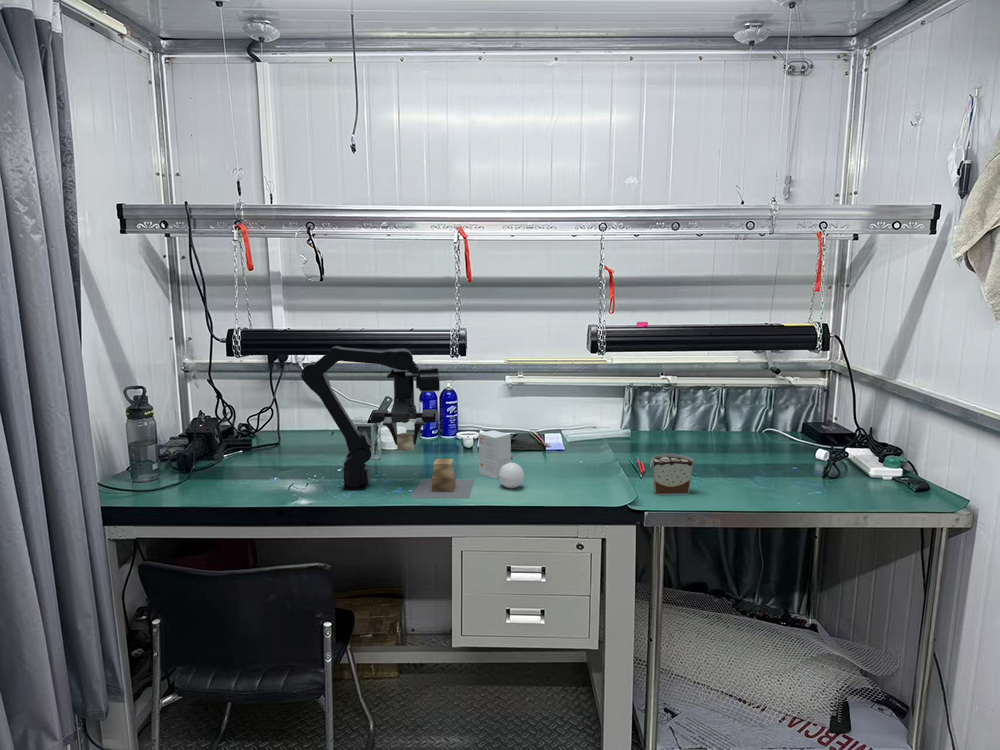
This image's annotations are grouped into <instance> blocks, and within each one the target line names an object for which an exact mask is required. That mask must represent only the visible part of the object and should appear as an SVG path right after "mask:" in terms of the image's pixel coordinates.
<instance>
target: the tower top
mask: <svg viewBox="0 0 1000 750" xmlns="http://www.w3.org/2000/svg"><path fill="white" fill-rule="evenodd" d="M432 465H433V466H432V467H433V474H434V478H451V477H452V475H453V472H454V459H453V458H435V460H434V462H433V464H432Z"/></svg>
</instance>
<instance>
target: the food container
mask: <svg viewBox="0 0 1000 750" xmlns="http://www.w3.org/2000/svg"><path fill="white" fill-rule="evenodd" d="M649 466H650V468H652V473H653V475H652V477H653V487H654V495H655V496H657V495H659V496H662V495H663V496H664V495H666V496H667V495H669V496H670V495H673V496H674V495H675V496H676V495H689V494H690V488H691V483H692V481H691V480H692V476H693V474H692V473H693V468H695V467H696V463H695V460H694V458H692V457H689V456H687V455H682V454H681V455H680V454H675V453H674V454H672V453H668V454H667V453H666V454H658V455H657V454H656V455H655V456H653V457H652V459H651V461H650V465H649Z"/></svg>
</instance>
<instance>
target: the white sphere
mask: <svg viewBox="0 0 1000 750" xmlns="http://www.w3.org/2000/svg"><path fill="white" fill-rule="evenodd" d="M524 472H525V471H524V469H523V467H521V466H520V464H518V463H515V462H511V463H507V464H505V465H504V466H502V467H501V469H500V471H499V478H498V480H499V481H500V483H501V484H502V485H503V486H504V487H505V488H508V489H515V488H518V487H519V486H520V485H522V483H523V482H524V478H525V473H524ZM493 476H496V475H493Z"/></svg>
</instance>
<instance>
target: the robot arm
mask: <svg viewBox="0 0 1000 750" xmlns="http://www.w3.org/2000/svg"><path fill="white" fill-rule="evenodd" d="M339 362H346V363H347V362H348V363H359V364H361V363H362V364H373V365H381V366H384V367H388V368H391V370H390V371H389V372H388V373H387V374H386V378H387V379H393V404H392V408H391V411H390V412H389V410H388V409H375V410H374V411H373V412H372V413H371V415H370V423H373V424H375V423H376V424H377V423H378V424H379V423H380V424H382V426H384V427H385V426H386V428H387V429H388V430H389V432H390V435H391V436H392V439H393V441H394V445H395V446H397V435H398V434H399V433H398V425H397V423H403V424H406V423H409V422H410V420H415V422H414V423H413V427H414V430H413V431H414V432H413V434H414V446H416V445H417V442H418V438H419V435H420V432H421V429H422V427H423V426H425V425H426V424H427V423H429V424H430V423H431V424H432V423H433V424H434V423H436V422H437V420H438V419H439V412H438V410H437V409H423V410H422V412H417V406H416V404H415V388H416V389H418V390H419V392H420V393H423V392H424V393H425V392H439V391H440V390H441V389H440V386H441V384H440V377H439V368H438V367H432V368H420V367H419V365H418V364H417V363H416V362H415V361H414V356H413V354H412V352H411V351H410V350H409V349H407V348H405V347H404V348H403V347H402V348H393V349H391V348H390V349H384V350H379V349H365V348H354V347H342V346H338V345H336V346H333V347H332V348H331V349H330V350H329V351H328V352H327V353H326V354H325V355H323V356H322V357H321V358H319V359H318V360H317V361H311V362H308V364H306V365H305V366H304V367H303V368H302V370H301V375H300V376H301V379H302V381H303V382H304V384H306V386H308V388H309V389H310V390H311V391H312V392H314V393H315V395H317V396H318V397H319V399H320V400H321V402H322V403H323V405H324V407H325V409H326V410H327V412H328V413H329V414H330V416H331V419H333V421H334V422H335V424H336V426H337V427H338V429H339V430H340V432H341V435H343V437H344V440H345V443H346V446H347V447H346V448H347V450H348V453H347V454H346V455H345V459H344V463H343V468H342V469H343V486H342V490H352V491H353V490H354V491H355V490H360V491H361V490H362V491H363V490H366V489H367V487H368V486H369V485H370V482H371V480H370V479H371V478H370V476H371V475H370V469H368V464H367V462H368V461H370V460H371V457H372V454H373V440H372V439H370V437H369V436H368V433H367V431H366V430H364V431H362V432H361V431H360V430H359V429H357V427H356V425H355V424H354V422H353V420H352V419H351V418H350V416H349V414H348V413H347V411H346V410H345V408H344V406H343V405H342V403H341V401H340V400H339V398H338V397H337V395H336V393H335V392H334V390H333V388H332V386H331V382H330V378H329V377H328V376H329V375H328V374H327V373H328V372H327V371H328V370H330V369H331V368H332V367H333V366H335V365H336V364H337V363H339ZM397 370H398V371H397ZM406 371H407V372H409V373H406ZM414 381H415V382H414ZM414 383H415V384H414Z"/></svg>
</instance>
